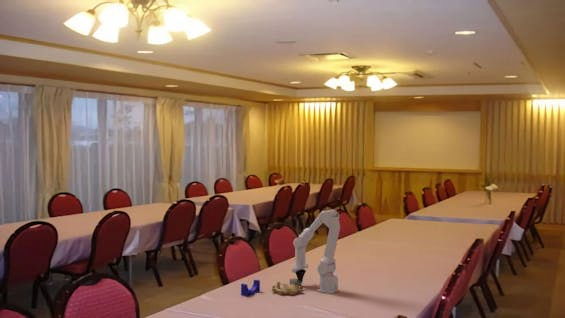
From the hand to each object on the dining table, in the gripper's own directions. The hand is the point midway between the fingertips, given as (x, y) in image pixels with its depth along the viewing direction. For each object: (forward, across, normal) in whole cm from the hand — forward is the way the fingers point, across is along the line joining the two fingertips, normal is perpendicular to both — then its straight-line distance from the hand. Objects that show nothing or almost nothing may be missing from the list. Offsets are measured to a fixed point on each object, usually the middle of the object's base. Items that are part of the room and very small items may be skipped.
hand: (300, 282), depth 313 cm
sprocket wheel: (+1, +14, +1) cm, 15 cm away
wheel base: (+1, +14, +1) cm, 15 cm away
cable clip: (+2, +28, -13) cm, 31 cm away
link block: (+2, +3, -1) cm, 4 cm away
